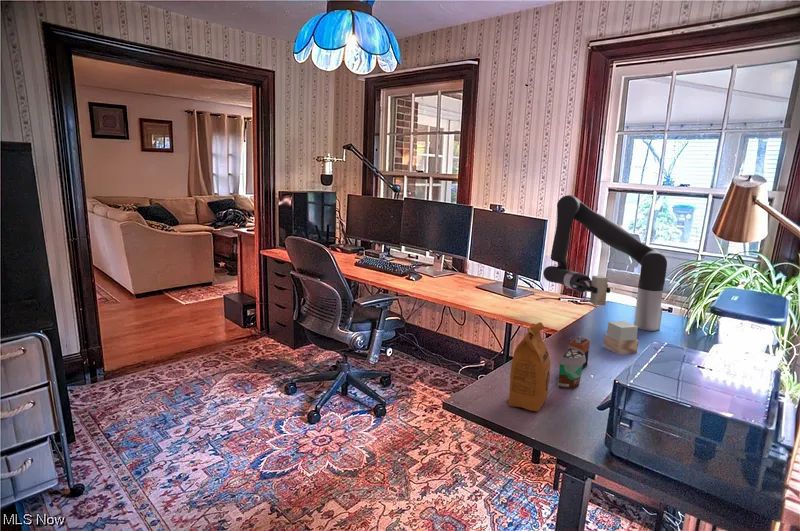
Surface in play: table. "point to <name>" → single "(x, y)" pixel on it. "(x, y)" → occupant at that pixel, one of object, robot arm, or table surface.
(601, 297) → the box
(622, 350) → the block
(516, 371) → the coffee package
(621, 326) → the tower top
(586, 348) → the battery
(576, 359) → the food container
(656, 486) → the table surface
